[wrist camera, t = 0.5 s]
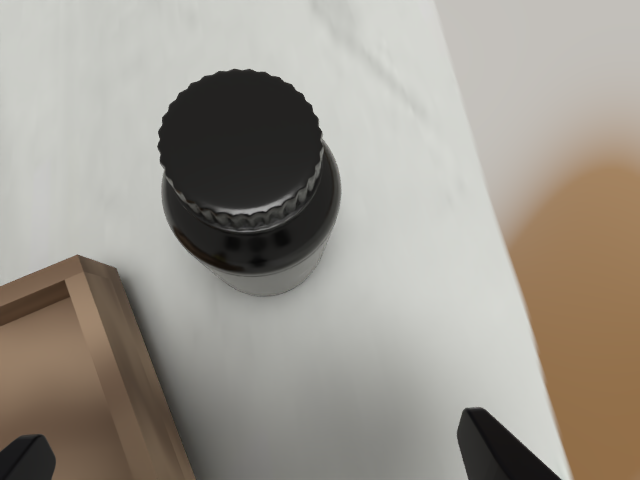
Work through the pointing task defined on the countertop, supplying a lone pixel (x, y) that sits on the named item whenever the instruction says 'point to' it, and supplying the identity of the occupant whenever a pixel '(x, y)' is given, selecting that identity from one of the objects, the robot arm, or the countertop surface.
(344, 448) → the countertop surface
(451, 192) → the countertop surface
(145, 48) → the countertop surface
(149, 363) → the square wooden tray
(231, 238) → the supplement bottle
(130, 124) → the countertop surface
